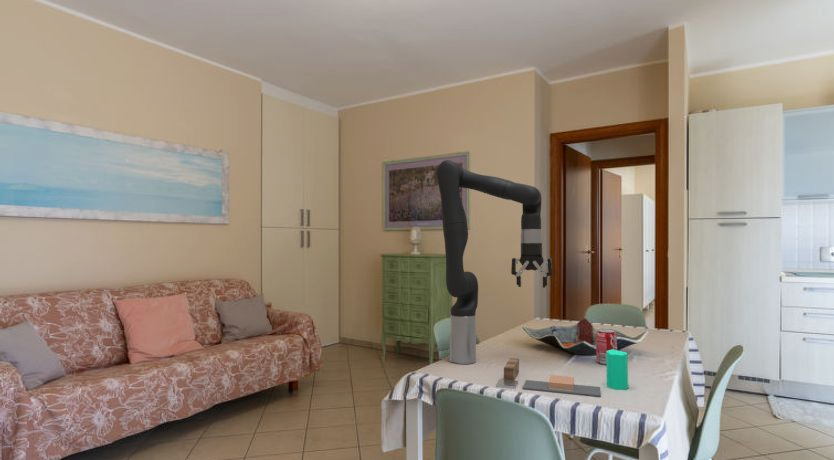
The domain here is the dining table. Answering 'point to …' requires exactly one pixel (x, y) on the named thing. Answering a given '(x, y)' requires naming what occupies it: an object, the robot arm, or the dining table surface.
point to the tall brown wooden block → (509, 374)
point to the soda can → (605, 343)
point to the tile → (561, 383)
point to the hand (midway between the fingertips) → (531, 287)
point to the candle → (617, 369)
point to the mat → (576, 391)
